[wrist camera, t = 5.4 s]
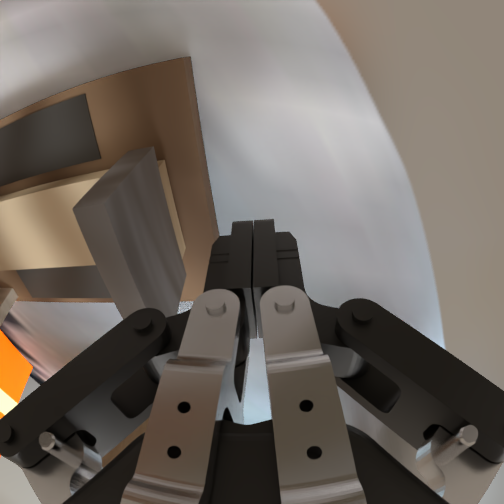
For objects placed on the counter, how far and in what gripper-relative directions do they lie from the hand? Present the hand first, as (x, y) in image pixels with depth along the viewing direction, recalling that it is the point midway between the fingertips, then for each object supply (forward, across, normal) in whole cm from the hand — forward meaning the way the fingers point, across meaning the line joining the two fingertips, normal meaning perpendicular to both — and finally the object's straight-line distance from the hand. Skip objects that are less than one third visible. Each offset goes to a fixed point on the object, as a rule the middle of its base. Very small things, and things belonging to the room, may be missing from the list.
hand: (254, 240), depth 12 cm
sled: (+4, +23, 0) cm, 24 cm away
